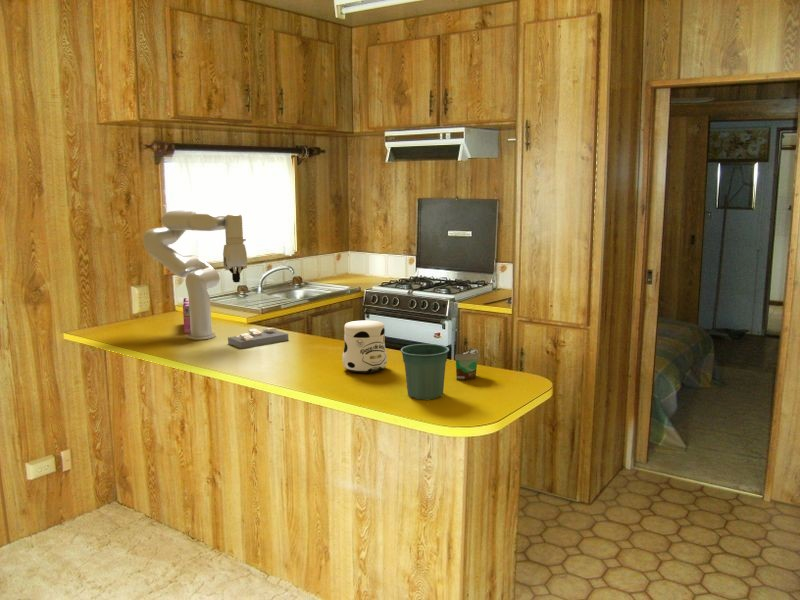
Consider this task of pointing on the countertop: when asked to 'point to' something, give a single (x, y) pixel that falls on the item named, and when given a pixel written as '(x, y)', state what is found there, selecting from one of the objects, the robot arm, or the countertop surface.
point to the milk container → (364, 346)
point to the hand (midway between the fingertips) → (236, 281)
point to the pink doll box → (186, 316)
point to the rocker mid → (255, 332)
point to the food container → (466, 365)
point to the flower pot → (425, 370)
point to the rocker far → (269, 329)
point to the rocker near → (246, 336)
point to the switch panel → (258, 339)
